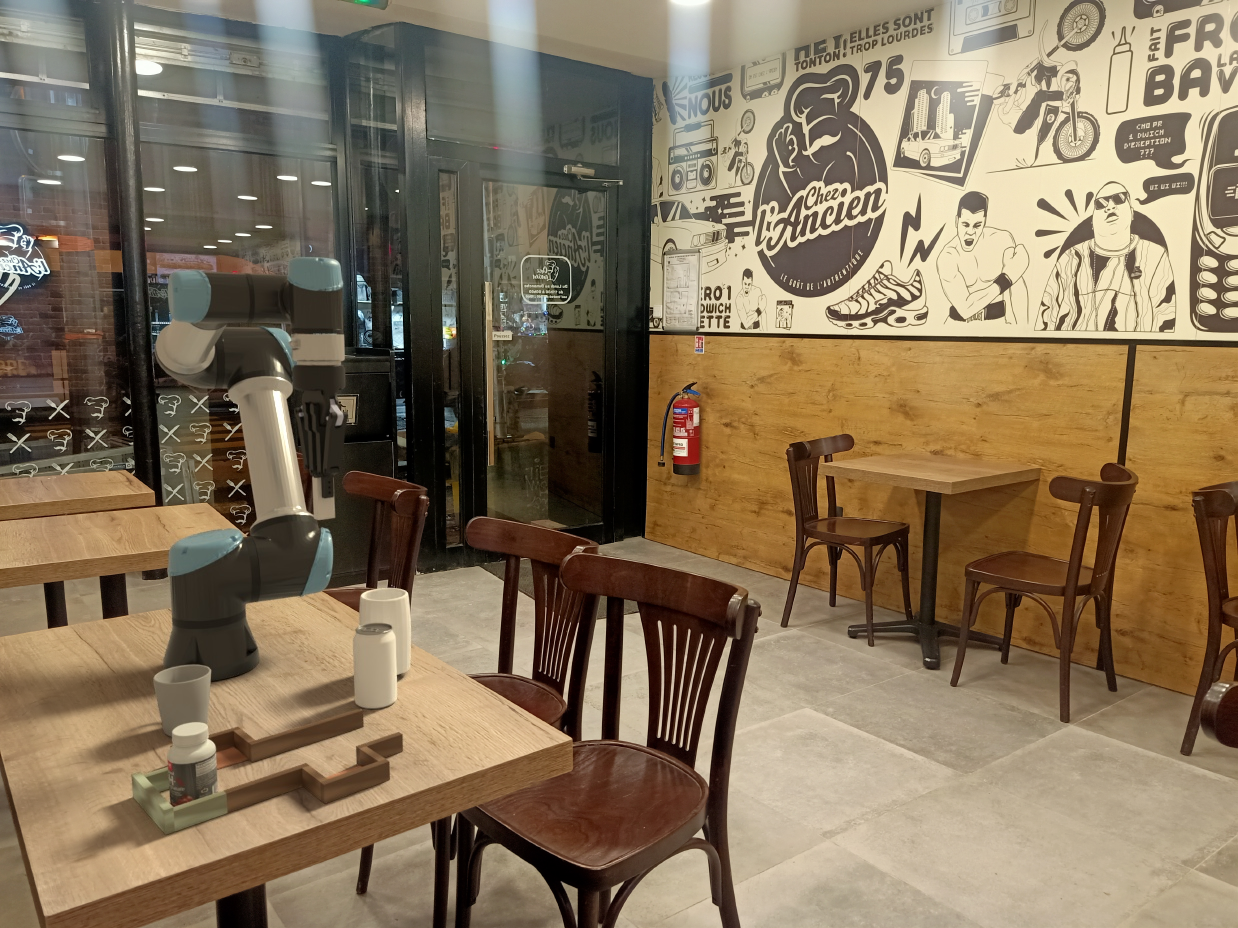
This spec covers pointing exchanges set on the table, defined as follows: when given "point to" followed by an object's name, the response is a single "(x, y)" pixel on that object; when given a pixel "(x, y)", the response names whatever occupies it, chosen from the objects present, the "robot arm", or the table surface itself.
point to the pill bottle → (191, 764)
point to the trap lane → (242, 747)
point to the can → (375, 666)
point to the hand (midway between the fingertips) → (324, 518)
